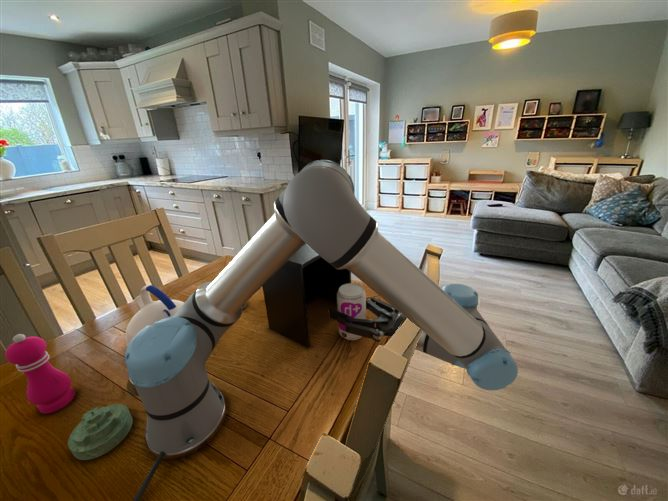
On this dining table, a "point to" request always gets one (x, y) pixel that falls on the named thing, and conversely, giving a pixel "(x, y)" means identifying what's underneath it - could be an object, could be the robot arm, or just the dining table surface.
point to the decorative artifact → (100, 431)
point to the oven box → (300, 292)
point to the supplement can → (351, 306)
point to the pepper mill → (40, 374)
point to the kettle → (150, 310)
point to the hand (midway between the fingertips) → (338, 305)
